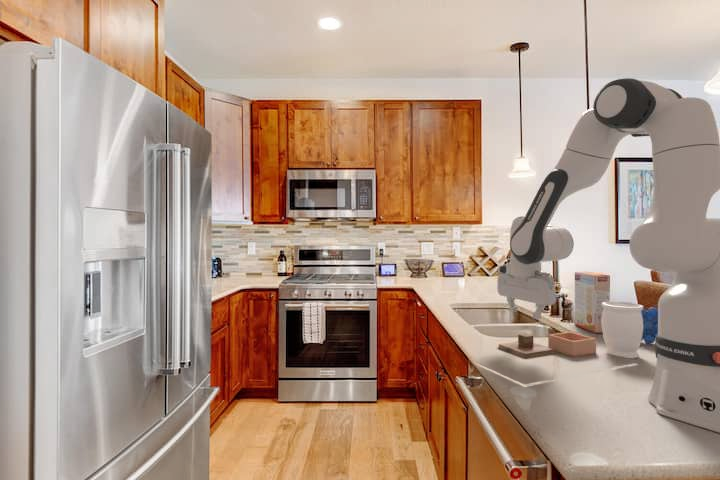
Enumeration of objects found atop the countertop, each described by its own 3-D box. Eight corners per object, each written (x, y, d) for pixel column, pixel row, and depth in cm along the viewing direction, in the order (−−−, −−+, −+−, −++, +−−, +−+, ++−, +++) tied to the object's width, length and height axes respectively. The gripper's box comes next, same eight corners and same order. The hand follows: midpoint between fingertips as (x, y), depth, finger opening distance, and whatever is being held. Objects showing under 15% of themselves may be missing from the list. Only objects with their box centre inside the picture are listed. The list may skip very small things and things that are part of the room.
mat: (556, 355, 120) (556, 353, 120) (525, 360, 116) (525, 358, 116) (526, 345, 131) (526, 343, 131) (496, 349, 127) (496, 347, 127)
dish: (596, 355, 120) (596, 338, 120) (573, 359, 117) (573, 341, 117) (569, 347, 129) (569, 331, 128) (548, 350, 125) (548, 334, 125)
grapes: (671, 343, 132) (672, 306, 132) (670, 348, 127) (670, 309, 126) (629, 338, 139) (629, 302, 139) (625, 342, 134) (626, 305, 134)
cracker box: (610, 333, 146) (611, 274, 145) (593, 333, 146) (593, 275, 145) (589, 324, 160) (589, 271, 159) (573, 324, 160) (573, 271, 159)
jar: (650, 361, 115) (650, 307, 114) (609, 359, 117) (609, 306, 116) (633, 350, 125) (633, 301, 125) (595, 348, 127) (596, 300, 127)
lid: (554, 353, 121) (554, 337, 121) (525, 357, 116) (525, 341, 116) (526, 344, 131) (526, 329, 131) (498, 347, 127) (498, 332, 127)
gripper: (561, 272, 115) (561, 321, 115) (509, 265, 134) (509, 307, 134) (544, 273, 113) (544, 323, 113) (494, 266, 131) (493, 309, 132)
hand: (524, 315), depth 124 cm, fingers open, 8 cm apart
